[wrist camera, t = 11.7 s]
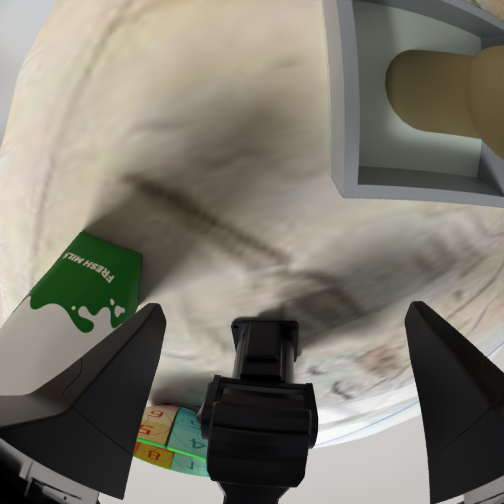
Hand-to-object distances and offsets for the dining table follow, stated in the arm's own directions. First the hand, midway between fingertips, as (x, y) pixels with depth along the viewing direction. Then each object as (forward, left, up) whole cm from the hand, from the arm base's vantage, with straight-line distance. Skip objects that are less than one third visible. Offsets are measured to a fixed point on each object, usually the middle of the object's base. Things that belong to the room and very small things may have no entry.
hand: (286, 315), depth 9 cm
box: (+8, -10, -12) cm, 18 cm away
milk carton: (-7, +17, -12) cm, 22 cm away
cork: (+8, -10, -12) cm, 17 cm away
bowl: (-39, +18, -12) cm, 45 cm away
